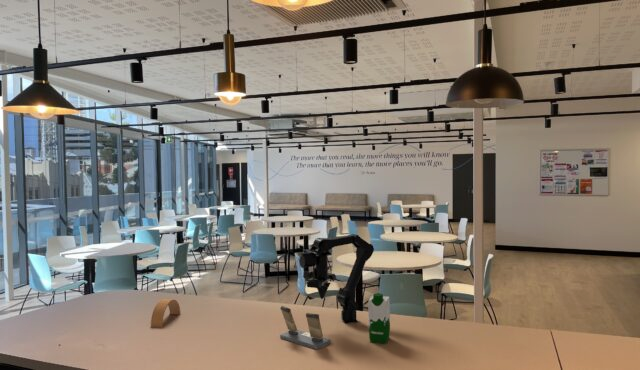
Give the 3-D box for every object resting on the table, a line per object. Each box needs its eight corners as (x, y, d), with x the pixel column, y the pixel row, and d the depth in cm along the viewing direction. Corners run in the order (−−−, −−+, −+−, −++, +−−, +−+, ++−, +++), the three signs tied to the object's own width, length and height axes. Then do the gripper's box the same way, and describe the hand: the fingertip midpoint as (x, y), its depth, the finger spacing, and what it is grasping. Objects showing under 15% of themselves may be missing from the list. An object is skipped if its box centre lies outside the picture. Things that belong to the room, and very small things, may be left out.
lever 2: (312, 334, 188) (307, 311, 185) (323, 336, 186) (318, 313, 182) (310, 337, 187) (305, 314, 183) (321, 339, 184) (316, 316, 181)
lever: (290, 327, 198) (283, 305, 195) (297, 330, 193) (289, 307, 191) (287, 329, 196) (279, 307, 194) (294, 332, 192) (286, 310, 190)
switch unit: (294, 332, 201) (294, 326, 201) (330, 343, 188) (330, 337, 187) (280, 338, 194) (280, 332, 194) (317, 349, 181) (316, 343, 181)
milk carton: (367, 342, 187) (366, 295, 187) (371, 335, 196) (371, 289, 195) (388, 344, 184) (387, 296, 184) (391, 337, 193) (391, 291, 192)
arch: (180, 314, 232) (180, 294, 231) (161, 327, 212) (161, 306, 212) (170, 313, 232) (169, 294, 232) (150, 326, 213) (149, 305, 212)
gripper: (315, 260, 220) (316, 291, 220) (296, 267, 203) (297, 301, 204) (336, 262, 215) (336, 294, 215) (318, 269, 198) (318, 304, 198)
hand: (322, 298), depth 208 cm, fingers closed
